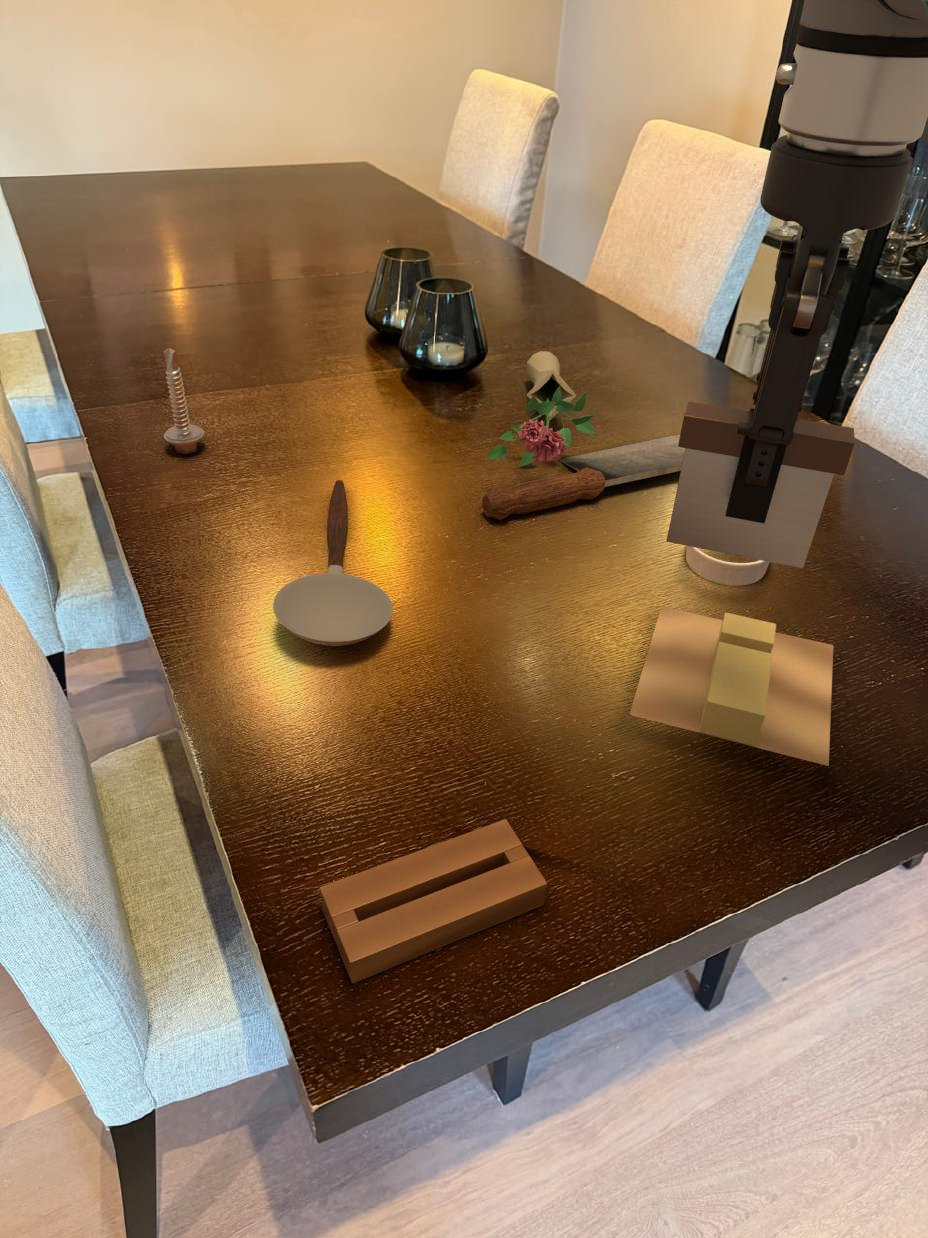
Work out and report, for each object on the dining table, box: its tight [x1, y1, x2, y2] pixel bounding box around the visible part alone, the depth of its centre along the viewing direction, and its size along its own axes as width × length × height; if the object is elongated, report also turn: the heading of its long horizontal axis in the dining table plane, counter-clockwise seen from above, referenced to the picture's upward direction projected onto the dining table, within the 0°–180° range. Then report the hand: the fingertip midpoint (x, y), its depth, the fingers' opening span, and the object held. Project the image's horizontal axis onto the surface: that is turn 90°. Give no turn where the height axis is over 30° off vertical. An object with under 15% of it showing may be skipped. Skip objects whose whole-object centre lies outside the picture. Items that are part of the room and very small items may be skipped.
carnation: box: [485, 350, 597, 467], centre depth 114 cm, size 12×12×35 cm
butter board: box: [629, 606, 834, 767], centre depth 79 cm, size 16×16×2 cm
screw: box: [163, 347, 206, 455], centre depth 107 cm, size 13×5×5 cm
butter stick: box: [699, 642, 772, 747], centre depth 74 cm, size 8×4×4 cm, turn 161°
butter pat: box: [713, 612, 777, 662], centre depth 80 cm, size 3×4×4 cm, turn 71°
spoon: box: [272, 479, 394, 647], centre depth 92 cm, size 11×33×3 cm, turn 5°
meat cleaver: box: [481, 433, 685, 521], centre depth 108 cm, size 34×11×4 cm, turn 116°
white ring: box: [685, 546, 770, 587], centre depth 92 cm, size 9×9×4 cm
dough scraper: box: [665, 401, 856, 569], centre depth 63 cm, size 2×11×11 cm, turn 72°
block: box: [319, 818, 548, 985], centre depth 60 cm, size 6×14×2 cm, turn 116°
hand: (746, 505), depth 64 cm, fingers closed on dough scraper, 2 cm apart
